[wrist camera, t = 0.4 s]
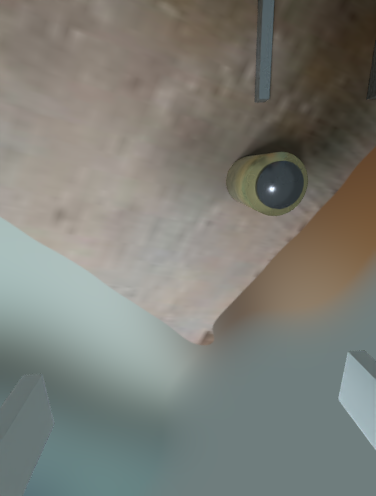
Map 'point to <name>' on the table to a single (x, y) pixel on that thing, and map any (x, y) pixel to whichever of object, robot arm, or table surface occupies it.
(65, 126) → the table surface
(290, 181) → the yellow jar
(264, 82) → the flange cradle
